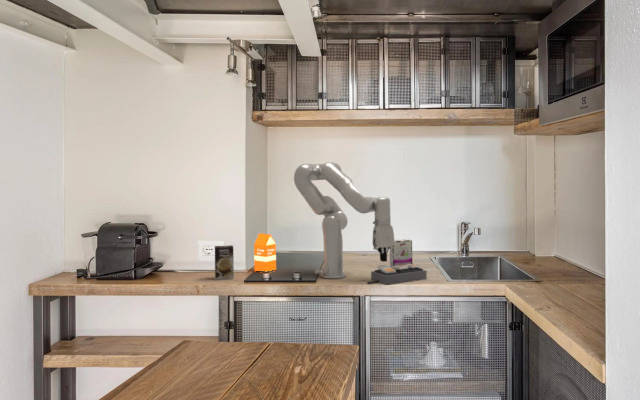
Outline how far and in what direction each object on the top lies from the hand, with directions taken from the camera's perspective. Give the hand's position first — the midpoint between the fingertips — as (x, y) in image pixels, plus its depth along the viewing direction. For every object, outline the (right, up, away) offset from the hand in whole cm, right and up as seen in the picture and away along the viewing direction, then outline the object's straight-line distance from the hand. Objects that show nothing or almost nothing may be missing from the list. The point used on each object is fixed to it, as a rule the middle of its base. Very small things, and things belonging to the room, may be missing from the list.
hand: (383, 261), depth 214 cm
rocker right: (+14, -3, +5) cm, 15 cm away
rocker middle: (+8, -4, +1) cm, 8 cm away
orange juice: (-60, -9, +25) cm, 65 cm away
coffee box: (-78, -10, +8) cm, 79 cm away
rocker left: (+1, -4, -2) cm, 5 cm away
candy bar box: (+12, -8, +21) cm, 25 cm away
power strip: (+5, -9, 0) cm, 10 cm away
